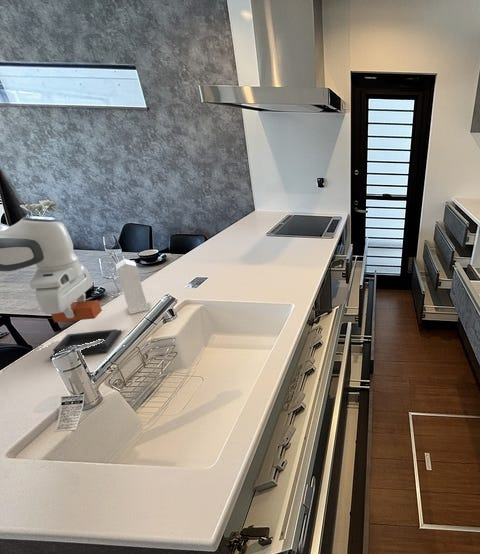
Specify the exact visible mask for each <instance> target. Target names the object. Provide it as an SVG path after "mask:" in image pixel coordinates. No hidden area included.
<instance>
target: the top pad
mask: <svg viewBox="0 0 480 554" xmlns="http://www.w3.org/2000/svg"><path fill="white" fill-rule="evenodd" d="M71 310H72V311H74V310H75V313H76V315H75V316H74V317H73V318H67V317H66V315H65V313H63V312H61V313H56V314H50V315H51V317H52V320H53V323H64V322H72V321H84V320H93V319H94V320H95V319H96V318H97V317H98V316H99V314H101V312H102V311H103V310H102V306H101V304H100V302H99V299H98V300H97V299H95V300H85V301H82V302H77V301H74V302H73V303H72V304H71Z"/></svg>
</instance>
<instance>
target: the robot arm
mask: <svg viewBox="0 0 480 554" xmlns="http://www.w3.org/2000/svg"><path fill="white" fill-rule="evenodd" d="M34 265H35V266H36V271H35V274H34V275H33V277H32V278H31V279H30V281H29V286H30V287H29V288H31V289H32V290H35V291H34V294H35V298H36V301H37V303H38V305H39V307H40V309H41V310H42V313H45V314H46V315H51V314H56V313H61V312H63V313H65V315H66V317H67V318H73V317H74V316H75V315H76V313H75V310H74V311H72V310H71V304H72V303H73V302H82V301H86V297H87V296H86V292H87V291H89V289H91V288H92V287H93V286H94V280H93V278H92V276H91V273H90V271H89V270H88V268H87V267H85V266H84V264H83V263H82V262H81V261H80V260H79V257H78V256H77V255H76V253H75V251H74V243H73V241H72V238H71V235H70V233H69V231H68V229H67V227H66V226H65V224H64V223H63V221H61V220H59V219H57V218H55V217H51V216H44V215H43V216H42V215H32V216H25V217H21V219H20V220H19V221H17V222H16V223H14V224H12V225H7V224H3V223H1V222H0V272H13V271H17V270H21V269H24V268H29V267H31V266H34Z"/></svg>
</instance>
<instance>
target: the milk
mask: <svg viewBox="0 0 480 554" xmlns="http://www.w3.org/2000/svg"><path fill="white" fill-rule="evenodd" d="M122 257H123V259H122V260H120V261H118V262H117V263H116V264H115V268H116V274H117V277H118V280H119V283H120V286H121V289H122V293H123V296H124V299H125V303H126V306H127V309H128V312H129V315H133V314H137V313H141V312H146V311H149V306H148V304H147V300H146V299H147V298H146V295H145V292H144V289H143V286H142V281H141V278H140V273H139V271H138V267H137V264H136V261H134V260H130V259H127V258H125V256H124V255H122ZM144 308H145V309H144ZM140 309H141V310H140Z"/></svg>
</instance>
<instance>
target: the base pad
mask: <svg viewBox="0 0 480 554" xmlns="http://www.w3.org/2000/svg"><path fill="white" fill-rule="evenodd" d="M121 334H122V330H121V329H117V328H115V329H105V330H97V331H95V330H94V331H88V332H87V331H86V332H78V333H70V334H67V335H66V336H65V337H64V338H63V339H62V340H61V341H60V342H59V343H58V344H56V346H55V347H54V348H53V349H52V352H53V353H52V354H51V355H50V356H49V358H50V361H53V360H52V357H53V355H55V354H56V353H58V352H59V351H61V350H63V349H66V348H68V347H70V346H73V345H82V344H85V343H90V342H93V341H96V340H98V339H104V340H105V341H103V342H102V343H100V344H97V345H95V346H91V347H89V348H85V349H83V350H81V353H82V355H83V356H82V357H86V356H92V355H93V356H94V355H100V354H107V353H108V352H109V350H110V349H111V348H112V346H113V345H114V344H115V342H116V341H117V339H118V338H119V337H120V335H121Z"/></svg>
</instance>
